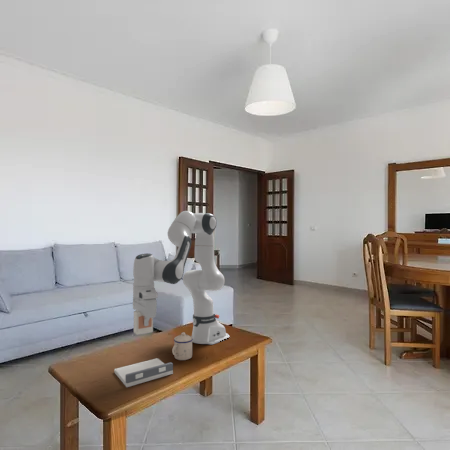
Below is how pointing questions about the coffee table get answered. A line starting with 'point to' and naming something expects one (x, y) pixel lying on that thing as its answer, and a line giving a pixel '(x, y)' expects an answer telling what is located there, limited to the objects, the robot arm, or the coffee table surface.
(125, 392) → the coffee table surface
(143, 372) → the shelf board
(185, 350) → the teacup with lid
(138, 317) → the product carton
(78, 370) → the coffee table surface
